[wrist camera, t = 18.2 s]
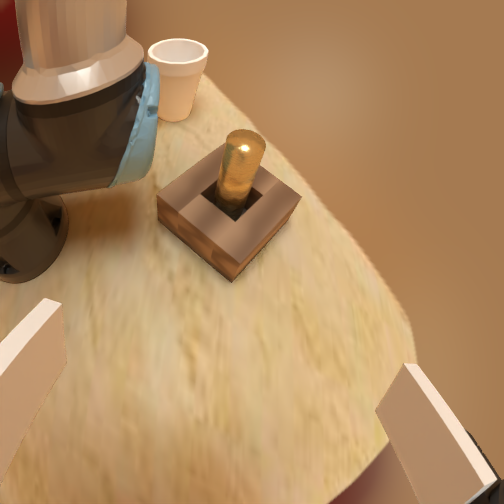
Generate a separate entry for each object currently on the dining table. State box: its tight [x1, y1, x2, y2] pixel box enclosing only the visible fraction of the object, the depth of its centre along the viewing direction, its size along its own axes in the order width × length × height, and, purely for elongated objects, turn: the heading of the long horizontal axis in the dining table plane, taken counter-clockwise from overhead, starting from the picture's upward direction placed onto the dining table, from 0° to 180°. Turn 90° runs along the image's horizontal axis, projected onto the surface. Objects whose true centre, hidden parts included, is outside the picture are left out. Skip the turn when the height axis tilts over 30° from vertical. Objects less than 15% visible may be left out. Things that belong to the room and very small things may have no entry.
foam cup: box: [148, 39, 208, 122], centre depth 45 cm, size 10×9×13 cm
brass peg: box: [213, 129, 266, 222], centre depth 36 cm, size 4×4×14 cm
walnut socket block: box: [157, 143, 302, 283], centre depth 40 cm, size 13×13×6 cm
